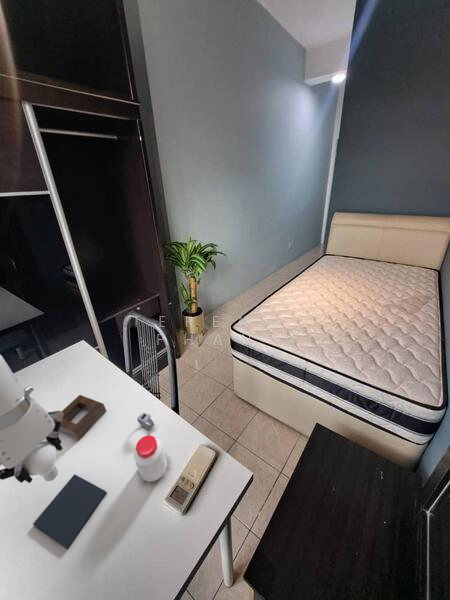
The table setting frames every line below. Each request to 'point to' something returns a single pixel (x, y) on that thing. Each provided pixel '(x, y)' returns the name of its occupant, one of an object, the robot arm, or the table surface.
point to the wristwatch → (145, 420)
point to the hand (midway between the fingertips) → (42, 462)
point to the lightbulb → (41, 461)
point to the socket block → (86, 422)
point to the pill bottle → (150, 458)
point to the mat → (70, 510)
